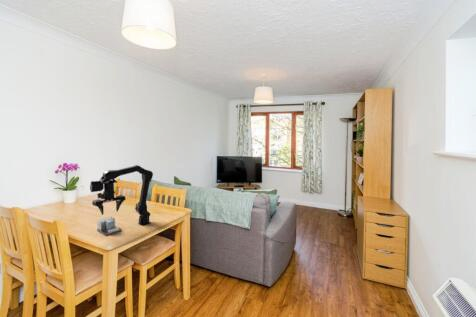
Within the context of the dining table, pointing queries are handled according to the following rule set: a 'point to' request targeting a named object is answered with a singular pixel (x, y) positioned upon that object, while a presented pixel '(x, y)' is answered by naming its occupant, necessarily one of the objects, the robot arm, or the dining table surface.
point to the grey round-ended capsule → (110, 224)
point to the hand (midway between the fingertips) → (110, 213)
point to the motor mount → (103, 227)
